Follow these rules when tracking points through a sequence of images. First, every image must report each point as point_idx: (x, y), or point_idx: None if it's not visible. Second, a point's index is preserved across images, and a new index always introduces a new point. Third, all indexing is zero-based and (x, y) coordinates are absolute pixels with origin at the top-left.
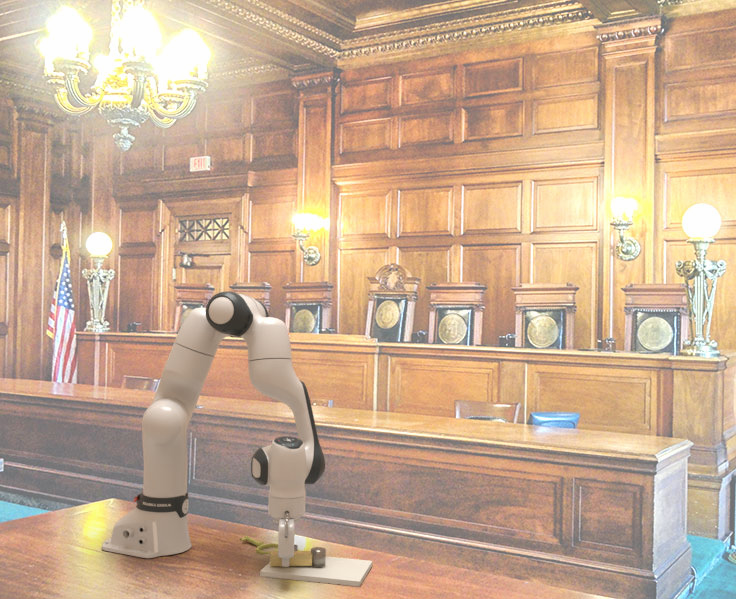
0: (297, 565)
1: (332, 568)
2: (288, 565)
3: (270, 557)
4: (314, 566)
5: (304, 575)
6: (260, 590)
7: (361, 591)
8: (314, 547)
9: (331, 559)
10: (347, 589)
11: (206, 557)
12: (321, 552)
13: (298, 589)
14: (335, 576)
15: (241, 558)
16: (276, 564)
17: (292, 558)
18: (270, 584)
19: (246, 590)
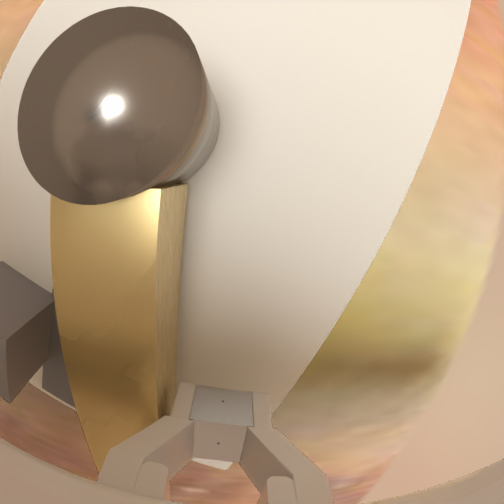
0: (178, 306)
1: (240, 28)
2: (267, 397)
3: (169, 482)
4: (202, 163)
5: (359, 272)
6: (390, 443)
7: (497, 30)
8: (22, 150)
9: (56, 33)
10: (486, 67)
11: None
12: (201, 64)
13: (448, 308)
14: (410, 62)
15: (30, 443)
16: None
17: (164, 374)
18: (343, 423)
19: (368, 474)
